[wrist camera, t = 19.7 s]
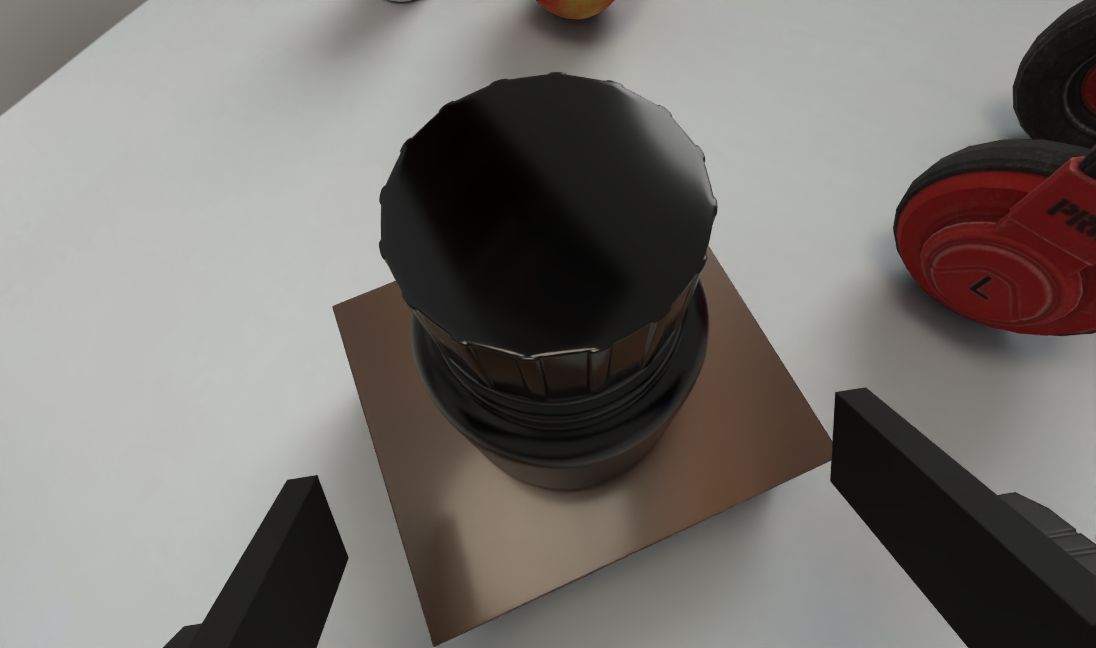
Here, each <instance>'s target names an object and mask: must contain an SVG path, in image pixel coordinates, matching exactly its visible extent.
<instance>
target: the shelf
mask: <svg viewBox="0 0 1096 648" xmlns="http://www.w3.org/2000/svg"><path fill="white" fill-rule="evenodd" d="M706 254H707V256H708V258H707V262H706V264H705V267H704V269H703V271H702V274H701V279H702V281H703V284H704V287H705V291H706V295H707V299H708V305H709V313H710V333H709V342H708V347H707V352H706V356H705V360H704V363H703V366H702V369H701V372H700V374H699V377H698V380H697V381H696V383H695V385H694V387H693V389H692V391H691V393H690V394H689V396H688V398H687V399H686V401H685V403H684V404H683V406H682V407H681V409H680V410H679V412H678V413H677V415H676V416H675V418H674V419H673V421H672V422H671V424H670V425H669V427H668V428H667V430H666V431H665V433H664V434H663V436H662V437H661V439H660V440H659V442H658V443H657V444H656V445H655V447H654V448H653V449H652V450H651V451H650V452H649V453H648V454H647V455H646V456H645V457H644V458H643V459H642V460H641V461H639V462H638V463H637V464H636V465H634V466H633V467H632V468H630V469H629V470H627V471H626V472H624V473H622V474H621V475H619V476H617V477H615V478H613V479H611V480H608V481H606V482H603V483H600V484H597V485H594V486H590V487H585V488H579V489H552V488H545V487H541V486H537V485H533V484H530V483H527V482H525V481H522V480H520V479H518V478H515V477H514V476H512V475H510V474H508V473H506V472H505V471H503V470H502V469H500V468H499V467H497V466H496V465H494V464H493V463H492V462H491V461H490V460H488V459H487V458H486V457H485V456H484V455H483V454H482V453H481V452H480V451H479V450H478V449H477V448H476V447H475V446H473V445H472V444H471V443H470V442H469V441H468V440H467V439H466V438H465V437H464V436H463V435H462V434H461V433H460V432H459V431H458V430H457V429H456V428H455V427H454V426H453V425H452V424H451V423H450V422H449V421H448V420H447V419H446V418H445V417H444V415H443V414H442V413H441V412H440V410H439V409H438V408H437V406H436V405H435V404H434V402H433V401H432V399H431V397H430V396H429V394H428V392H427V390H426V389H425V387H424V385H423V382H422V380H421V378H420V375H419V373H418V370H417V367H416V364H415V361H414V357H413V352H412V347H411V339H410V316H411V310H410V308H409V307H408V305H407V304H406V303H405V301H404V300H403V298H402V291H401V289H400V288H399V286H398V284H397V282H396V281H394V282H392V283H389V284H387V285H384V286H382V287H379V288H377V289H374V290H372V291H369V292H367V293H364V294H362V295H359V296H357V297H354V298H352V299H349V300H347V301H344V302H342V303H339V304H337V305H334V306H333V311H334V314H335V318H336V321H337V324H338V328H339V331H340V334H341V338H342V341H343V344H344V348H345V351H346V355H347V358H348V361H349V365H350V368H351V371H352V375H353V378H354V381H355V385H356V388H357V392H358V395H359V398H360V402H361V405H362V408H363V412H364V415H365V418H366V422H367V425H368V429H369V432H370V435H371V439H372V442H373V445H374V449H375V452H376V455H377V459H378V462H379V466H380V469H381V472H382V476H383V479H384V482H385V486H386V489H387V492H388V496H389V499H390V502H391V506H392V509H393V513H394V516H395V519H396V523H397V526H398V529H399V533H400V536H401V539H402V543H403V546H404V550H405V553H406V556H407V560H408V563H409V566H410V570H411V573H412V576H413V580H414V583H415V587H416V590H417V593H418V597H419V600H420V603H421V607H422V610H423V613H424V617H425V620H426V624H427V627H428V630H429V634H430V637H431V640H432V644H433V646H434V647H436V646H438V645H440V644H442V643H444V642H446V641H448V640H451V639H453V638H455V637H457V636H459V635H461V634H463V633H465V632H468V631H470V630H472V629H474V628H476V627H478V626H480V625H482V624H485V623H487V622H489V621H491V620H493V619H495V618H497V617H499V616H502V615H504V614H506V613H508V612H510V611H512V610H514V609H516V608H519V607H521V606H523V605H525V604H527V603H529V602H531V601H533V600H536V599H538V598H540V597H542V596H544V595H546V594H548V593H551V592H553V591H555V590H557V589H559V588H561V587H563V586H565V585H568V584H570V583H572V582H574V581H576V580H578V579H580V578H582V577H585V576H587V575H589V574H591V573H593V572H595V571H597V570H599V569H602V568H604V567H606V566H608V565H610V564H612V563H614V562H616V561H619V560H621V559H623V558H625V557H627V556H629V555H631V554H633V553H636V552H638V551H640V550H642V549H644V548H646V547H648V546H651V545H653V544H655V543H657V542H659V541H661V540H663V539H665V538H668V537H670V536H672V535H674V534H676V533H678V532H680V531H682V530H685V529H687V528H689V527H691V526H693V525H695V524H697V523H699V522H702V521H704V520H706V519H708V518H710V517H712V516H714V515H716V514H719V513H721V512H723V511H725V510H727V509H729V508H731V507H734V506H736V505H738V504H740V503H742V502H744V501H746V500H748V499H751V498H753V497H755V496H757V495H759V494H761V493H763V492H765V491H768V490H770V489H772V488H774V487H776V486H778V485H780V484H782V483H785V482H787V481H789V480H791V479H793V478H795V477H797V476H799V475H802V474H804V473H806V472H808V471H810V470H812V469H814V468H816V467H819V466H821V465H823V464H825V463H827V462H829V461H831V460H832V443H833V442H832V440H831V438H830V437H829V435H828V434H827V432H826V431H825V429H824V427H823V426H822V424H821V423H820V421H819V420H818V418H817V416H816V415H815V413H814V412H813V410H812V408H811V407H810V405H809V404H808V402H807V401H806V399H805V397H804V396H803V394H802V393H801V391H800V390H799V388H798V386H797V385H796V383H795V382H794V380H793V378H792V377H791V375H790V374H789V372H788V371H787V369H786V367H785V366H784V364H783V363H782V361H781V360H780V358H779V356H778V355H777V353H776V352H775V350H774V348H773V347H772V345H771V344H770V342H769V341H768V339H767V337H766V336H765V334H764V333H763V331H762V330H761V328H760V326H759V325H758V323H757V322H756V320H755V318H754V317H753V315H752V314H751V312H750V311H749V309H748V307H747V306H746V304H745V303H744V301H743V300H742V298H741V296H740V295H739V293H738V292H737V290H736V289H735V287H734V285H733V284H732V282H731V281H730V279H729V277H728V276H727V274H726V273H725V271H724V270H723V268H722V266H721V265H720V263H719V262H718V260H717V259H716V257H715V255H714V254H713V252H712V251H711V249H710V247H709V246H708V248H707V252H706Z"/></svg>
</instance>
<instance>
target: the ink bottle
mask: <svg viewBox="0 0 1096 648" xmlns="http://www.w3.org/2000/svg"><path fill="white" fill-rule="evenodd" d="M400 153H401V154H400V156H399V158H398V160H397V162H396V164H395V166H394V168H393V170H392V172H391V174H390V177H389V179H388V181H387V183H386V185H385V186H384V187H383V188H382V190H381V193H380V198H379V202H380V204H381V240H380V242H379V249H380V253H381V256H382V258H383V259H384V260H385V262H386V263H387V265H388V266H389V268H390V270H391V272H392V274H393V276H394V278H395V280H396V282H397V284H398V286H399V288H400V289H401V291H402V298H403V300H404V301H405V303H406V304H407V305H408V307H409V308H410V310H411V316H410V339H411V347H412V352H413V357H414V361H415V364H416V367H417V370H418V373H419V375H420V378H421V380H422V382H423V385H424V387H425V389H426V390H427V392H428V394H429V396H430V397H431V399H432V401H433V402H434V404H435V405H436V406H437V408H438V409H439V410H440V412H441V413H442V414H443V415H444V417H445V418H446V419H447V420H448V421H449V422H450V423H451V424H452V425H453V426H454V427H455V428H456V429H457V430H458V431H459V432H460V433H461V434H462V435H463V436H464V437H465V438H466V439H467V440H468V441H469V442H470V443H471V444H472V445H473V446H475V447H476V448H477V449H478V450H479V451H480V452H481V453H482V454H483V455H484V456H485V457H486V458H487V459H488V460H490V461H491V462H492V463H493V464H494V465H496V466H497V467H499V468H500V469H502V470H503V471H505V472H506V473H508V474H510V475H512V476H514V477H515V478H518V479H520V480H522V481H525V482H527V483H530V484H533V485H537V486H541V487H545V488H552V489H579V488H585V487H590V486H594V485H597V484H600V483H603V482H606V481H608V480H611V479H613V478H615V477H617V476H619V475H621V474H622V473H624V472H626V471H627V470H629V469H630V468H632V467H633V466H634V465H636V464H637V463H638V462H639V461H641V460H642V459H643V458H644V457H645V456H646V455H647V454H648V453H649V452H650V451H651V450H652V449H653V448H654V447H655V445H656V444H657V443H658V442H659V440H660V439H661V437H662V436H663V434H664V433H665V431H666V430H667V428H668V427H669V425H670V424H671V422H672V421H673V419H674V418H675V416H676V415H677V413H678V412H679V410H680V409H681V407H682V406H683V404H684V403H685V401H686V399H687V398H688V396H689V394H690V393H691V391H692V389H693V387H694V385H695V383H696V381H697V380H698V377H699V374H700V372H701V369H702V366H703V363H704V360H705V356H706V352H707V347H708V342H709V333H710V313H709V305H708V299H707V295H706V291H705V287H704V284H703V281H702V279H701V274H702V271H703V269H704V267H705V264H706V262H707V258H708V256H707V254H706V252H707V248H708V244H709V240H710V235H711V230H712V225H713V222H714V220H715V217H716V214H717V200H716V198H715V197H714V196H713V193H712V189H711V185H710V181H709V177H708V174H707V170H706V167H705V164H704V162H705V156H704V154H703V152H702V150H701V149H700V147H699V146H697V145H695V144H694V143H693V142H692V141H691V139H690V138H689V137H688V136H687V134H686V133H685V132H684V131H683V130H682V128H681V127H680V126H679V125H678V124H677V123H676V122H675V120H674V119H673V118H672V115H671V113H670V112H669V111H668V110H667V109H666V108H664V107H663V106H661V105H656V104H654V103H652V102H650V101H648V100H647V99H645V98H643V97H641V96H639V95H637V94H635V93H634V92H632V91H630V90H628V89H626V88H624V87H623V85H621V84H620V83H617V82H614V81H610V80H607V81H602V80H596V79H591V78H585V77H579V76H572V75H567V74H566V73H562V72H552V73H549V74H547V75H539V76H531V77H523V78H516V79H501V80H497V81H494V82H492V83H491V84H490V85H489V86H487V87H485V88H482V89H480V90H478V91H476V92H474V93H471V94H469V95H467V96H465V97H463V98H461V99H459V100H457V101H451V102H449V103H447V104H446V105H444V106H443V107H442V108H441V109H440V110H439V113H437V114H436V115H435V116H434V117H433V118H432V119H431V120H430V121H429V122H428V123H427V124H426V125H425V126H424V127H422V128H421V129H420V130H419V131H418V132H417V133H416V134H415V135H414V136H413V137H412V138H409V139H408V140H407V141H406V142H405V143H404V144H403V146H402V148H401V150H400Z"/></svg>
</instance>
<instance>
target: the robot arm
mask: <svg viewBox="0 0 1096 648" xmlns="http://www.w3.org/2000/svg"><path fill="white" fill-rule="evenodd" d="M830 481H831V482H832V484H833V485H834V486H835V487H836V489H837V490H838V491H839V492H840V493H841V495H842V496H843V497H844V498H845V499H846V501H847V502H848V503H849V504H850V505H851V507H852V508H853V509H854V510H855V511H856V513H857V514H858V515H859V516H860V518H861V519H862V520H863V521H864V522H865V524H866V525H867V526H868V527H869V528H870V530H871V531H872V532H873V533H874V534H875V536H876V537H877V538H878V539H879V540H880V542H881V543H882V544H883V545H884V546H885V548H886V549H887V550H888V551H889V553H890V554H891V555H892V556H893V557H894V559H895V560H896V561H897V562H898V563H899V565H900V566H901V567H902V568H903V569H904V571H905V572H906V573H907V574H908V575H909V577H910V578H911V579H912V580H913V582H914V583H915V584H916V585H917V586H918V588H919V589H920V590H921V591H922V592H923V594H924V595H925V596H926V597H927V598H928V600H929V601H930V602H931V603H932V604H933V606H934V607H935V608H936V609H937V611H938V612H939V613H940V614H941V615H942V617H943V618H944V619H945V620H946V621H947V623H948V624H949V625H950V626H951V627H952V629H953V630H954V631H955V632H956V633H957V635H958V636H959V637H960V638H961V639H962V641H963V642H964V643H965V644H966V646H967V647H968V648H1096V544H1095V543H1093V542H1092V541H1091V540H1089V539H1088V538H1087V537H1085V536H1084V535H1083V534H1082V533H1079V534H1078V533H1077V532H1076V529H1075V528H1074V527H1072V526H1071V525H1070V524H1069V523H1067V522H1066V521H1065V520H1063V519H1062V518H1061V517H1059V516H1058V515H1057V514H1055V513H1054V512H1053V511H1052V510H1050V509H1049V508H1047V507H1045V506H1043V505H1041V504H1039V503H1037V502H1035V501H1032V500H1030V499H1028V498H1026V497H1024V496H1022V495H1020V494H1018V493H1016V492H1014V493H1008V494H1001V495H996V494H995V493H994V492H993V491H991V490H990V489H989V488H988V487H987V486H985V485H984V484H983V483H982V482H980V481H979V480H978V479H977V478H976V477H974V476H973V475H972V474H971V473H969V472H968V471H967V470H966V469H965V468H963V467H962V466H961V465H960V464H958V463H957V462H956V461H955V460H954V459H952V458H951V457H950V456H949V455H948V454H946V453H945V452H944V451H943V450H941V449H940V448H939V447H938V446H937V445H935V444H934V443H933V442H932V441H930V440H929V439H928V438H927V437H926V436H924V435H923V434H922V433H921V432H919V431H918V430H917V429H916V428H915V427H913V426H912V425H911V424H910V423H909V422H907V421H906V420H905V419H904V418H902V417H901V416H900V415H899V414H898V413H896V412H895V411H894V410H893V409H891V408H890V407H889V406H888V405H887V404H885V403H884V402H883V401H882V400H880V399H879V398H878V397H877V396H876V395H874V394H873V393H872V392H871V391H870V390H868V389H867V388H866V387H865V388H859V389H852V390H846V391H840V392H835V408H834V425H833V443H832V460H831V478H830ZM347 561H348V555H347V552H346V550H345V547H344V544H343V542H342V539H341V537H340V534H339V531H338V529H337V526H336V523H335V521H334V518H333V515H332V513H331V510H330V507H329V505H328V502H327V500H326V497H325V494H324V492H323V489H322V486H321V484H320V481H319V478H318V476H317V475H315V476H309V477H303V478H296V479H290V480H287V481H286V483H285V484H284V486H283V488H282V490H281V491H280V493H279V495H278V496H277V498H276V500H275V501H274V503H273V505H272V506H271V508H270V510H269V511H268V513H267V515H266V517H265V518H264V520H263V522H262V523H261V525H260V527H259V528H258V530H257V532H256V533H255V535H254V537H253V538H252V540H251V542H250V544H249V545H248V547H247V549H246V550H245V552H244V554H243V555H242V557H241V559H240V560H239V562H238V564H237V565H236V567H235V569H234V571H233V572H232V574H231V576H230V577H229V579H228V581H227V582H226V584H225V586H224V587H223V589H222V591H221V592H220V594H219V596H218V598H217V599H216V601H215V603H214V604H213V606H212V608H211V609H210V611H209V613H208V614H207V616H206V618H205V619H204V621H203V623H202V624H196V625H190V626H184V627H183V628H182V629H181V630H180V631H179V632H178V633H177V634H176V635H175V636H174V637H173V638H172V639H171V640H170V641H169V642H168V643H167V644H166V645H165V646H164V647H163V648H317V645H318V642H319V639H320V636H321V634H322V631H323V628H324V625H325V622H326V620H327V617H328V614H329V611H330V608H331V606H332V603H333V600H334V597H335V595H336V592H337V589H338V586H339V583H340V581H341V578H342V575H343V572H344V569H345V567H346V564H347Z"/></svg>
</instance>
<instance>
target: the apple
mask: <svg viewBox="0 0 1096 648" xmlns="http://www.w3.org/2000/svg"><path fill="white" fill-rule="evenodd" d="M536 1H537V2H538V3H539V4H540V5H541V6H542V7H544V8H545V9H546V10H548V11H549V12H551V13H553V14H555V15H558V16H561V17H564V18H568V19H585V18H589V17H592V16H594V15H596V14H598V13H600V12H602V11H603V10H604V9H606V8H607V7H608V6H609V5H610V4H611V3H612V2H613V1H614V0H536Z"/></svg>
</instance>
